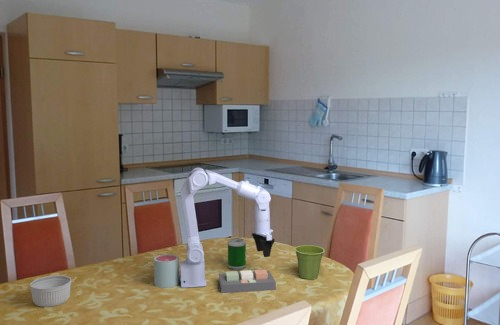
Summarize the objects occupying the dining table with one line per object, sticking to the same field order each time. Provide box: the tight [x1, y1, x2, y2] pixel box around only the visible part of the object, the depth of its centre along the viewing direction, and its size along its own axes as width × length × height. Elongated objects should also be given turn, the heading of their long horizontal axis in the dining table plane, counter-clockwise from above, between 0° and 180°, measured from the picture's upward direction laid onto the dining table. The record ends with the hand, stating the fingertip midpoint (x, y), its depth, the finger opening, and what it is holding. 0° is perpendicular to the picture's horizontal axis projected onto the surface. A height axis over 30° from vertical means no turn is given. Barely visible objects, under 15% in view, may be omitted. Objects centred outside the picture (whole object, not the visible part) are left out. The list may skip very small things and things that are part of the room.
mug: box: [153, 253, 180, 289], centre depth 177 cm, size 14×9×10 cm
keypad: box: [218, 270, 277, 294], centre depth 173 cm, size 20×12×3 cm, turn 99°
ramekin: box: [29, 274, 72, 308], centre depth 159 cm, size 13×13×7 cm
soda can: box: [227, 237, 247, 271], centre depth 192 cm, size 8×8×12 cm
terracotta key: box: [253, 269, 268, 280], centre depth 174 cm, size 4×4×4 cm
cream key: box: [239, 269, 253, 280], centre depth 173 cm, size 4×4×4 cm
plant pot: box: [294, 244, 325, 280], centre depth 182 cm, size 12×12×11 cm
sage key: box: [225, 270, 239, 281], centre depth 172 cm, size 4×4×4 cm
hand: (263, 253), depth 178 cm, fingers open, 7 cm apart
